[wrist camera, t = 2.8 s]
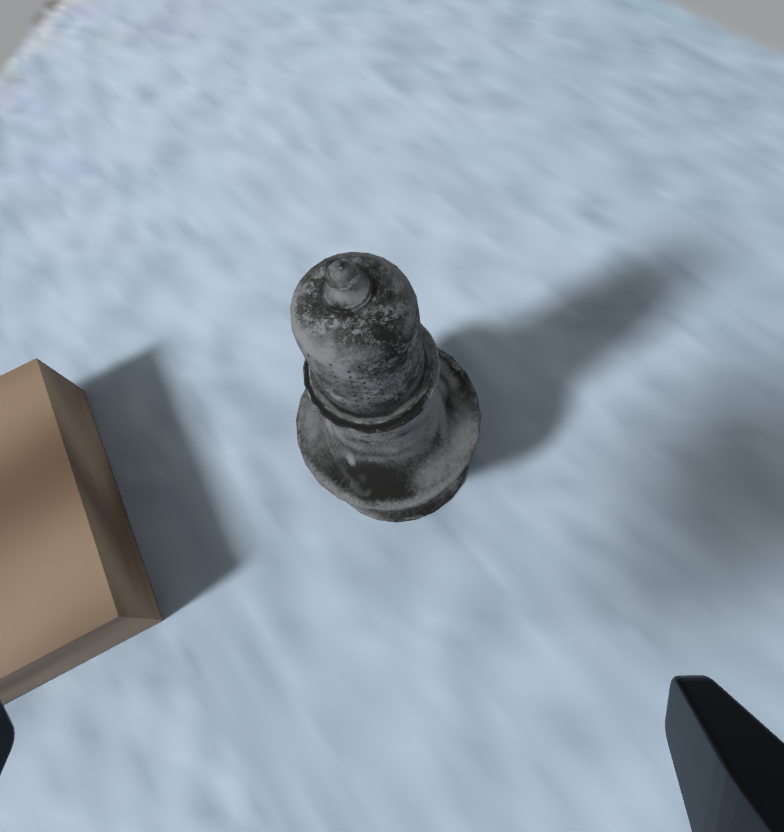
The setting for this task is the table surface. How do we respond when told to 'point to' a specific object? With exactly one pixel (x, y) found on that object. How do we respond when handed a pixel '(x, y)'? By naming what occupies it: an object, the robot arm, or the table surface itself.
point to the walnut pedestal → (60, 536)
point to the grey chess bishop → (378, 392)
